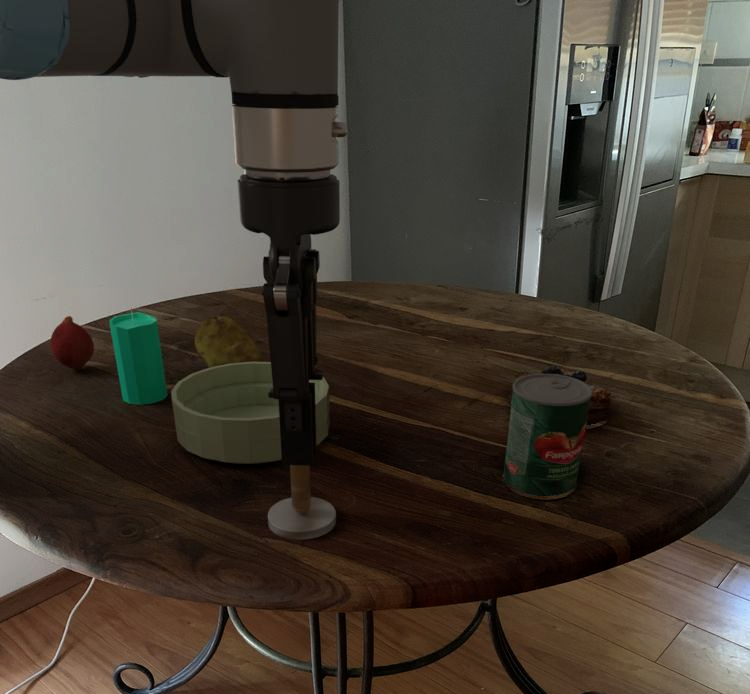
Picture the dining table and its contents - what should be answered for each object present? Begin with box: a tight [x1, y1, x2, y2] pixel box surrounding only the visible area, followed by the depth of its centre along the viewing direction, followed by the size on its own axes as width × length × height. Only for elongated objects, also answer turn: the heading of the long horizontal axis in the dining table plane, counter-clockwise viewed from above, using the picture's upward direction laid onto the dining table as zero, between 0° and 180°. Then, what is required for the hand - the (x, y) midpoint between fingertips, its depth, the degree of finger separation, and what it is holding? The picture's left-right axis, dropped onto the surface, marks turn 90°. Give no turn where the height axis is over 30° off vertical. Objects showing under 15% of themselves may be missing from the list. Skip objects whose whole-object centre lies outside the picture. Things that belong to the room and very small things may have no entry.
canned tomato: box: [502, 373, 592, 496], centre depth 77 cm, size 8×8×11 cm
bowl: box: [170, 361, 331, 465], centre depth 88 cm, size 18×18×6 cm
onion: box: [49, 315, 95, 371], centre depth 106 cm, size 6×6×8 cm
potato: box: [194, 314, 265, 368], centre depth 104 cm, size 8×13×8 cm, turn 22°
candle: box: [109, 307, 168, 406], centre depth 96 cm, size 6×6×12 cm
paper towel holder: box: [267, 465, 337, 541], centre depth 66 cm, size 6×6×16 cm
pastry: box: [507, 365, 612, 425], centre depth 94 cm, size 11×12×6 cm
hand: (299, 456), depth 66 cm, fingers closed on paper towel holder, 2 cm apart
